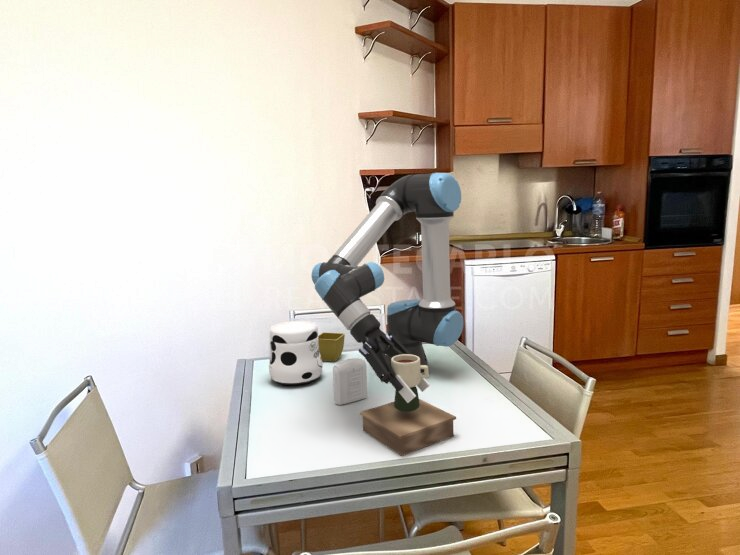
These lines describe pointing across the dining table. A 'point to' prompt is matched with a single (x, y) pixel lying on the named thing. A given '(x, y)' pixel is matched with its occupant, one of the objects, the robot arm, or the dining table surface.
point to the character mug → (408, 379)
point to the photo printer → (350, 381)
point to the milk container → (295, 353)
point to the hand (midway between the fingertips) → (419, 393)
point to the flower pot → (331, 345)
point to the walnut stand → (408, 426)
